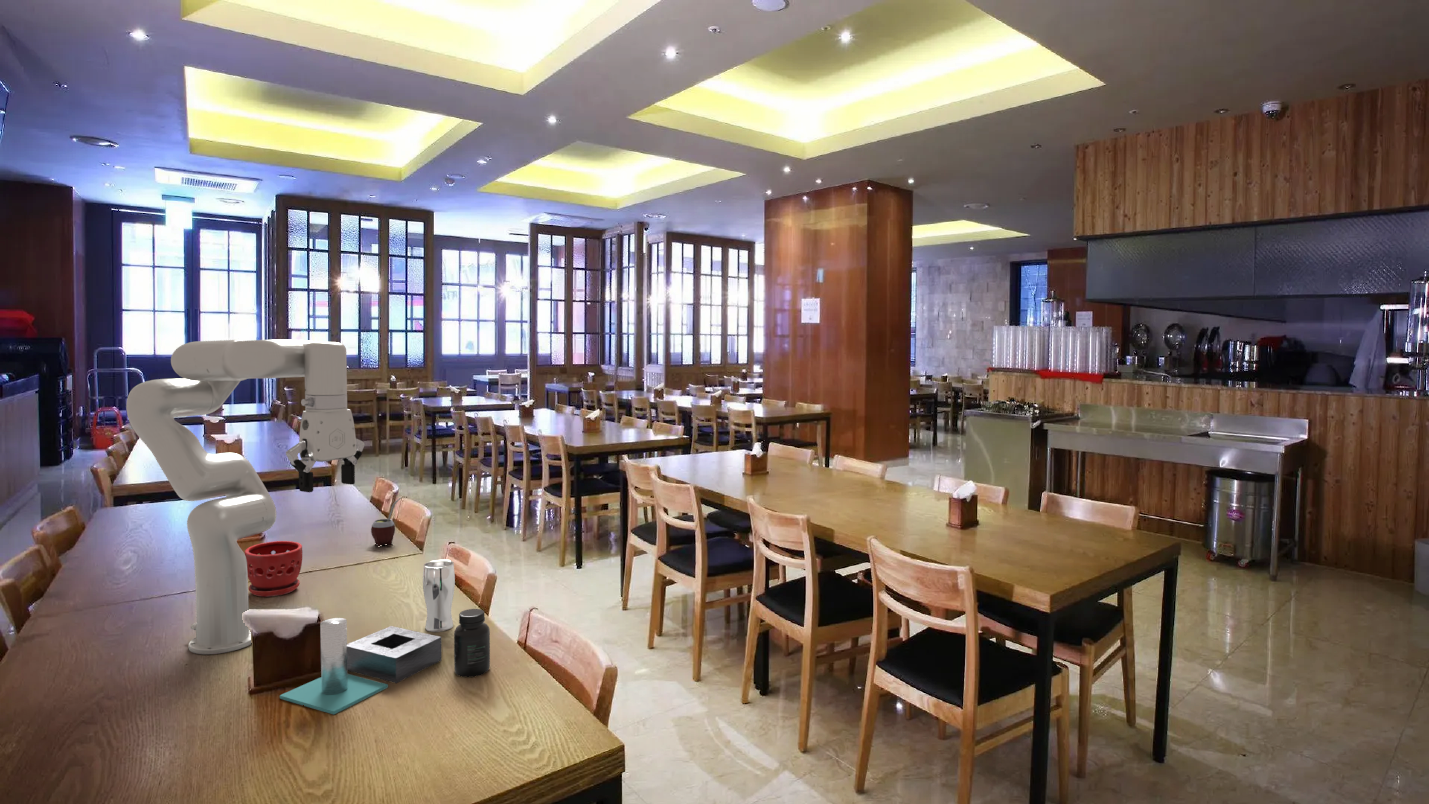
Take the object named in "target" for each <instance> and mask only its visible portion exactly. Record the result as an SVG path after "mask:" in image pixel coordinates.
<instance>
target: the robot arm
mask: <svg viewBox="0 0 1429 804" xmlns="http://www.w3.org/2000/svg"><path fill="white" fill-rule="evenodd" d="M170 364H171V367H172V369H173V371H174V372H175V373H176V374H177V375H178V376H179V377H180V378H175V377H174V378H160V379H159V378H157V379H151V380H146V381H144V382H141V383H138V384H137V385H135V386H134V387H132V388H131V390H130V392H129V393H128V396H127V399H126V414H127V418H128V422H129V424H130V426H131V428H132V429H133V431H134V432H135V434H136V435H137V436H138V437H139V439H140V441H142V442H143V443H144V445H145V446H146V447H147V448H148V450H150V452H151V453H152V455H153V456H154V458H155V460H156V462H157V464H158V465H159V467H160V470H162V472H163V475H165V477H166V479H167V480H168V482H169V484H170V486H171V487H172V489H173V490H174V492H175V493H176V495H177V496H178V497H179V498H180V499H181V500H183V501H187V502H197V501H204V500H207V501H204V502H202V503H201V504H199V505H197V506H195V507H194V508H193V509H192V510H191V511H190V513H189V514H188V517H187V520H186V528H187V531H188V537H189V539H190V543H191V547H192V553H193V562H194V563H193V564H194V566H193V567H194V583H195V585H194V586H195V610H196V611H195V612H196V614H195V615H196V616H195V617H196V622H194V623H192V624H191V625H190V629H191V630H192V631H195V637H194V638H192V639H191V640H190V641H189V642H188V644H187V646H188V647H187V648H188V651H189V652H191V653H192V654H198V655H216V654H223V653H230V652H234V651H237V650H241V649H244V648H246V647H249V646H251V645H252V644H251V632H250V630H249V629H250V628H249V629H248V627H247V626H245V623H243V620H242V613H243V612H245V611H247V610H249V608H250V607H249V579H248V571H247V559H246V556H245V551H243V550H242V548H241V547H240V546H239V544H238V542H237V541H238V540H241V539H245V538H247V537H252V536H256V535H258V534H262V533H264V532H267V531H268V530H270V529H271V528H272V527H273V526H274V524H275V523H276V520H277V513H278V512H277V509H276V504H275V502H274V500H273V498H272V496H271V494H270V493H269V491H268V490H267V488H266V486H265V484H264V483H263V481H262V480H261V478H260V476H259V474H258V473H257V471H256V469H255V468H254V466H253V465H252V464H251V462H250V461H249V460H248V459H247V458H245V456H244V455H241V454H239V453H237V452H236V453H235V452H229V451H227V452H219V453H210V452H207V451H206V450H205V449H204V448H203V447H204V446H203V445H202V444H201V442H200V440H199V438H198V437H197V436H196V435H195V433H193V432H192V430H190V429H189V428H187V427H186V426H184V425H183V424H181V423H179V422H178V421H176V420H175V418H182V417H183V418H184V417H194V416H204V415H209V414H212V413H214V412H215V411H217V410H218V409H220V408H221V407H222V405H224V403H225V402H226V401H227V400H228V398H229V397H230V395H231V394H232V393H233V391H234V390H235V389H236V388H237V386H239V384H240V382H241V381H245V380H247V379H249V380H250V379H279V378H280V379H282V378H302V377H303V378H304V398H302V399H301V402H300V403H301V406H303V407H304V409H305V410H303V411H302V415H301V420H300V424H299V425H300V426H299V427H300V428H299V438H298V439H299V441H298V443H296V444H295V445H293V446H292V447H290V448H289V449H288V450H286V451H285V455H286V457H287V459H288V461H289V464H290V465H291V466H292V467H293V468H294V469H295V472H298V487H299V489H298V490H299V492H303V493H313V491H314V473H313V471H311V470H312V469H313V467H314V465H315V464H316V463H317V462H319V463H323V462H331V461H337V460H341V461H342V462H343V463H342V464H341V465H340V473H341V474H340V475H341V476H340V477H341V478H340V480H341V481H340V482H341V484H343V485H345V484H346V485H356V482H355V481H356V479H355V478H356V474H355V473H356V472H355V471H356V470H355V469H356V468H355V466H357V465H358V463H359V462H358V460H359V459H360V458H361V456H362V452H363V450H364V447H365V445H366V444H365V441H362V440H361V439H358V438H357V437H356V429H355V428H356V427H355V422H354V417H353V413H352V410H351V409H349V408H348V394H347V393H348V377H347V375H348V373H347V370H348V369H347V367H348V366H347V365H348V364H347V348H346V345H344V344H343V343H341V342H336V341H313V340H308V339H307V340H304V339H257V340H256V339H254V340H242V339H223V340H222V339H221V340H201V341H198V340H197V341H191V342H190V341H189V342H187V343H183V344H180V346H178V347H176V349H175V350H174V351H173V353H172V354H171V357H170ZM223 496H224V497H223ZM218 497H220V498H218ZM214 498H215V499H214ZM208 499H211V500H208Z"/></svg>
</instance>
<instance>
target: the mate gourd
mask: <svg viewBox="0 0 1429 804" xmlns="http://www.w3.org/2000/svg"><path fill="white" fill-rule="evenodd" d="M401 499H402V497H399V498H398V499H396V500H395V501H394V502H393V504H392V505H391V509H390V510H389V511H390V512H389V515H388V518H381V519H377V520H374V521H373V522H372V524H371V528H370V533H371V536H372V539H373V540H374V543H376V544H378V545H377V546H380V545H384V544H387V545H393V540H394V535H395V533H396V525H395V522H394V521H393V520H392V519H391V517H392V513H393V512H394V511H393V509H394V508H395V505H396V504H397V503H398V502H399V501H400V500H401Z"/></svg>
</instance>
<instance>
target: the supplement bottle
mask: <svg viewBox="0 0 1429 804" xmlns="http://www.w3.org/2000/svg"><path fill="white" fill-rule="evenodd" d="M458 616H459V617H458V618H459V619H458V624H459V625H457V626H456V628H455V629H454V632H453V636H454V637H453V652H454V653H453V657H454V659H453V662H454V663H453V665H454V673H455V674H456V675H457V676H458V677H461V676H462V677H463V678H475V676H476V677H479V676H482V675H484V674H486V673H487V672H488V671H489V669H490V668H491V666H490V665H491V653H490V652H491V646H490V645H491V643H490V642H491V638H490V637H491V634H490V633H491V630H490V627H489V625H488V624H487V623H486V622H485V621H486V618H485V610H483V609H480V608H468V609H464V610H462V611H460V613H459V614H458ZM462 677H461V678H462Z"/></svg>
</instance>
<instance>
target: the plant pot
mask: <svg viewBox="0 0 1429 804" xmlns="http://www.w3.org/2000/svg"><path fill="white" fill-rule="evenodd" d="M272 552H274V554H273V553H272ZM244 554H245V556H246V559H247V571H248V582H250V585H248V592H250V594H251V595H254V596H258V597H266V598H267V597H268V598H270V597H278V596H283V595H287V594H289V593H291V592H294V591H295V590H296V589H298V588H299V586H300V583H301V582H300V579H298V577H299V575H300V572H301V569H302V563H303V545H302V544H301V543H300V542H297V541H290V540H274V541H267V542H261V543H257V544H254V545H251V546H249V547H247V548H246V549H245V550H244Z"/></svg>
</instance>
